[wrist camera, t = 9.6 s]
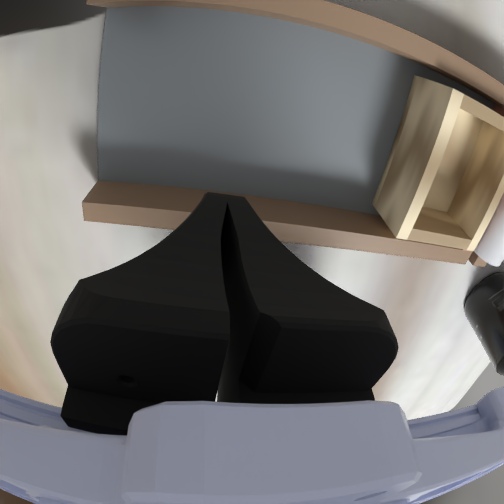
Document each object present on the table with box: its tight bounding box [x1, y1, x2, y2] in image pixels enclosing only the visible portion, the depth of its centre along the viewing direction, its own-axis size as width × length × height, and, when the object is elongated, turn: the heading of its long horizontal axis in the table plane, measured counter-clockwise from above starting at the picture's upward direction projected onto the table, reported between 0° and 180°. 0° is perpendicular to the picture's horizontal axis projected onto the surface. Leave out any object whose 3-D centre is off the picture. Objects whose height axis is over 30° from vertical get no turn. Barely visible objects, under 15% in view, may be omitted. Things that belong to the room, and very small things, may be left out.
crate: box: [372, 75, 504, 251], centre depth 17 cm, size 9×7×4 cm
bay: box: [82, 0, 504, 267], centre depth 16 cm, size 13×29×5 cm, turn 80°
